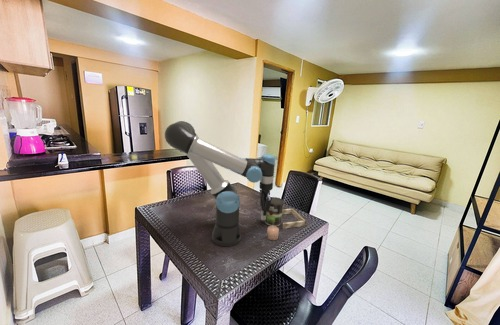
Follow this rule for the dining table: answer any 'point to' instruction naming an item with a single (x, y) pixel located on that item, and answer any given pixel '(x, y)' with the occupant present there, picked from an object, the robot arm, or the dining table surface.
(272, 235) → the tan rounded block
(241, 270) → the dining table surface
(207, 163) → the robot arm
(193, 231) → the dining table surface
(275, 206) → the coffee can
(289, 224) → the corral
